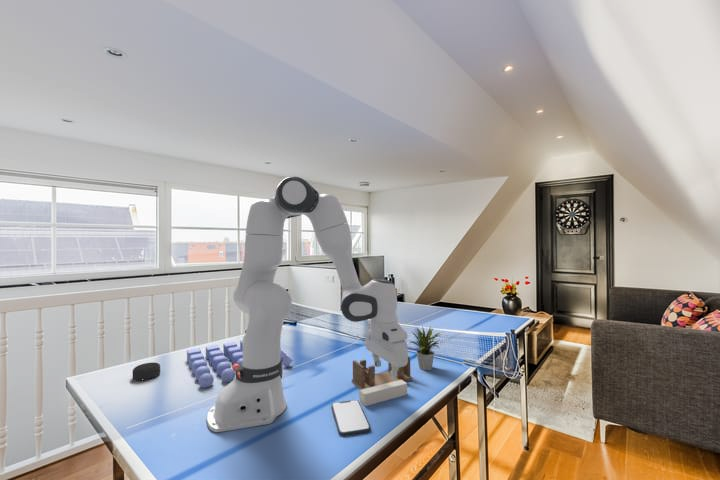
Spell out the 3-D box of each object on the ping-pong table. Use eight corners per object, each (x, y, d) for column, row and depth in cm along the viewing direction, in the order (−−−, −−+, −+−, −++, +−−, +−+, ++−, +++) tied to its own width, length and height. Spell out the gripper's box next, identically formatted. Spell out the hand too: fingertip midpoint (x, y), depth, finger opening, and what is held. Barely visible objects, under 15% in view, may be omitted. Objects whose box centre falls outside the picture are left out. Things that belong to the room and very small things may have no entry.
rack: (363, 392, 110) (363, 368, 110) (351, 382, 118) (351, 359, 118) (412, 379, 120) (411, 358, 120) (398, 371, 128) (397, 350, 128)
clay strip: (364, 407, 101) (364, 394, 101) (359, 402, 104) (359, 390, 104) (407, 395, 109) (407, 383, 109) (401, 391, 112) (401, 379, 111)
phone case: (372, 434, 88) (358, 404, 103) (372, 428, 88) (358, 399, 103) (339, 439, 86) (330, 407, 101) (339, 433, 86) (330, 402, 101)
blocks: (267, 345, 161) (267, 335, 161) (295, 368, 133) (295, 356, 133) (186, 361, 142) (186, 350, 142) (199, 392, 113) (199, 377, 113)
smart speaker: (146, 382, 120) (146, 371, 120) (126, 380, 122) (126, 369, 122) (165, 372, 129) (165, 362, 129) (146, 371, 131) (146, 361, 131)
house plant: (442, 378, 121) (442, 334, 120) (405, 373, 125) (405, 330, 125) (445, 364, 134) (445, 324, 134) (411, 360, 139) (411, 321, 138)
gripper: (360, 323, 114) (361, 362, 114) (393, 339, 96) (394, 385, 96) (375, 320, 117) (377, 358, 117) (410, 335, 99) (412, 380, 99)
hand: (385, 371), depth 107 cm, fingers open, 8 cm apart
